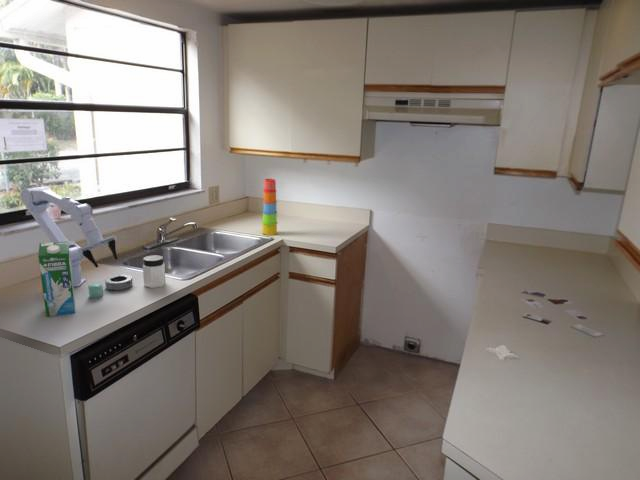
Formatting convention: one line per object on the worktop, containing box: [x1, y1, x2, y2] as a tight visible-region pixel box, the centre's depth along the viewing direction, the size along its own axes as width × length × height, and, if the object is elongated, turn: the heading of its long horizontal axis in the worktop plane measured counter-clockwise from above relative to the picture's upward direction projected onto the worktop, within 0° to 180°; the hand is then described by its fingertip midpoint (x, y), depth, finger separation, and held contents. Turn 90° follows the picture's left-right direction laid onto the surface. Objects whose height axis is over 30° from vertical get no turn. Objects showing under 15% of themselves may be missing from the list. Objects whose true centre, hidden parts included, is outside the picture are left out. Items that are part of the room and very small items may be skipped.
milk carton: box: [38, 241, 76, 318], centre depth 161 cm, size 9×9×25 cm
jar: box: [142, 254, 167, 289], centre depth 190 cm, size 9×8×12 cm
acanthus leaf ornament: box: [485, 344, 519, 361], centre depth 146 cm, size 8×7×2 cm
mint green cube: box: [87, 282, 104, 299], centre depth 177 cm, size 5×5×4 cm
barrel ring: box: [104, 274, 133, 292], centre depth 188 cm, size 10×10×3 cm
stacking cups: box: [261, 178, 279, 236], centre depth 278 cm, size 10×10×35 cm
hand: (107, 263), depth 178 cm, fingers open, 7 cm apart
